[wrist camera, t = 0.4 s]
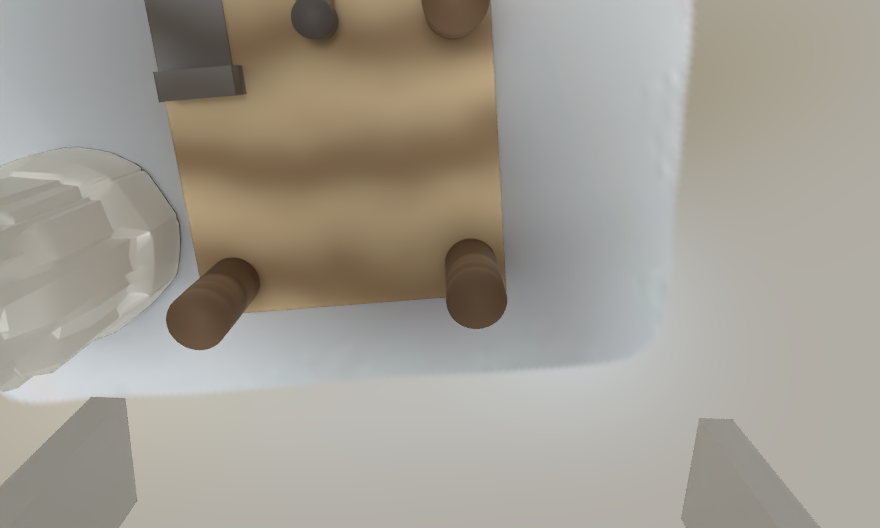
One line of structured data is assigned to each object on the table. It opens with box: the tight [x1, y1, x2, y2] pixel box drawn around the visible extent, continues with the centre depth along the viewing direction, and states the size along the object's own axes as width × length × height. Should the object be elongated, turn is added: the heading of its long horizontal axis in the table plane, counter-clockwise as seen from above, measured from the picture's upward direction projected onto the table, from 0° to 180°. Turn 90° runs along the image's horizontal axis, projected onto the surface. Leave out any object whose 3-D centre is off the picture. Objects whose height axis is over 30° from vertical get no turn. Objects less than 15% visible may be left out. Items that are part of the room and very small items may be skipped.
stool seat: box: [144, 0, 507, 350], centre depth 35 cm, size 18×18×9 cm
